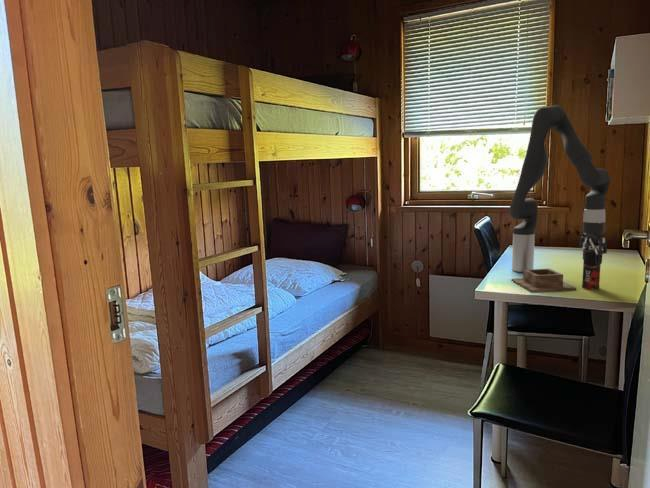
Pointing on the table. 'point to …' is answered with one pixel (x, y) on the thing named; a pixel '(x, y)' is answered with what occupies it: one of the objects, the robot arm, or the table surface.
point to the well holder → (543, 281)
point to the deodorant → (590, 271)
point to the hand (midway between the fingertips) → (591, 261)
